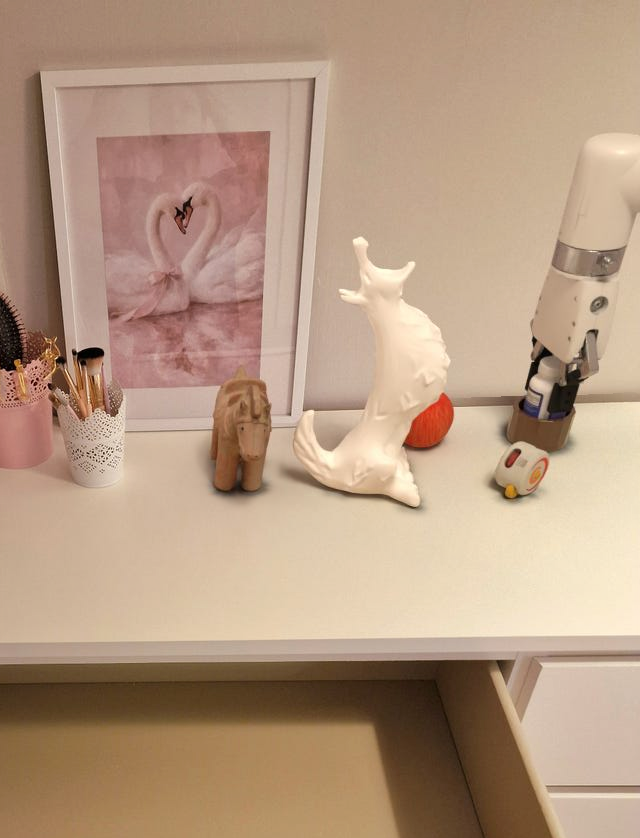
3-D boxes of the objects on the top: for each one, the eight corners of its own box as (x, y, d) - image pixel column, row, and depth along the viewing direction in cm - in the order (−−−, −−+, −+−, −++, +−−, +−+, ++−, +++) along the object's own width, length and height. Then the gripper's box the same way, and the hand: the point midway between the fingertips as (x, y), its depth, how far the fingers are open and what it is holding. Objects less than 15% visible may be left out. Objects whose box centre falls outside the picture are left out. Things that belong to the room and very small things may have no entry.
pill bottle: (561, 419, 117) (579, 355, 111) (561, 438, 113) (580, 374, 107) (519, 414, 118) (535, 351, 112) (518, 433, 115) (534, 369, 109)
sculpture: (431, 509, 106) (483, 254, 85) (293, 511, 106) (312, 258, 86) (415, 460, 114) (459, 217, 94) (286, 462, 115) (302, 221, 95)
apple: (390, 423, 121) (399, 368, 116) (450, 430, 119) (461, 375, 114) (383, 451, 116) (391, 396, 110) (445, 459, 114) (457, 403, 108)
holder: (549, 421, 120) (557, 391, 117) (576, 448, 114) (586, 417, 111) (496, 427, 119) (504, 397, 116) (522, 455, 114) (530, 424, 111)
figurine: (220, 522, 105) (221, 408, 95) (206, 448, 118) (206, 342, 108) (280, 518, 106) (287, 404, 95) (260, 445, 118) (265, 338, 108)
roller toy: (548, 487, 108) (560, 446, 104) (517, 506, 105) (529, 464, 101) (517, 473, 111) (528, 432, 107) (486, 491, 108) (497, 450, 104)
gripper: (660, 279, 95) (609, 429, 107) (580, 230, 108) (543, 369, 120) (595, 286, 94) (551, 436, 107) (523, 236, 107) (491, 375, 119)
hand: (547, 399), depth 113 cm, fingers closed on pill bottle, 5 cm apart
